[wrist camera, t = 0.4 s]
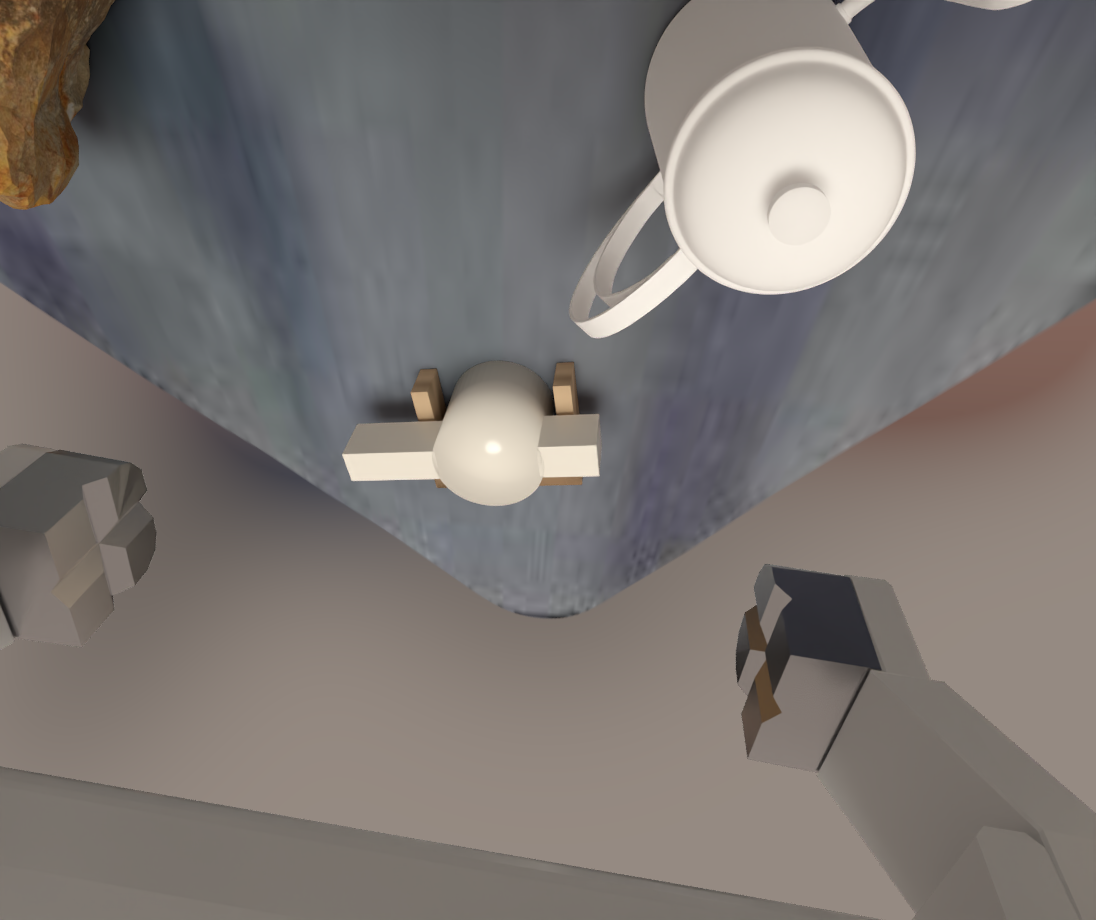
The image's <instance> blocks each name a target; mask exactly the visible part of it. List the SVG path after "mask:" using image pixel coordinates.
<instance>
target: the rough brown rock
mask: <svg viewBox="0 0 1096 920" xmlns="http://www.w3.org/2000/svg"><path fill="white" fill-rule="evenodd" d="M114 1H115V0H0V201H1V202H3V203H5V204H7V205H9V206H10V207H12V208H16V209H24V210H26V209H29V208H33V207H36V206H39V205H43V204H50V203H52V202H53V201H54V200H55V199H56V198H57V197H58V196H59V195H60V194H61V193H62V191H63V190H64V189H65V188H66V186H67V185H68V183H69V181H70V179H71V178H72V176H73V174H74V172H75V171H76V169H77V167H78V166H79V145H78V139H77V136H76V134H75V132H74V130H73V128H72V126H71V123H70V122H71V120H72V119H73V118H74V117H75V115H76V114H77V113H78V112H79V111H80V109H81V108H82V107H83V104H82V100H83V98H84V95H85V93H86V90H87V87H88V83H89V77H90V70H89V53H90V50H89V48H88V47H87V45H86V43H87V41H88V40H89V38H90V37H91V35H92V33H93V32H94V31H95V30H96V29H97V28H98V27H99V25H100V24H101V23H102V22H103V20H104V19H105V17H106V15H107V13H108V10H109V8H110V6H111V5H112V4H113V3H114Z"/></svg>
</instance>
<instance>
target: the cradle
mask: <svg viewBox="0 0 1096 920" xmlns="http://www.w3.org/2000/svg"><path fill="white" fill-rule="evenodd" d="M553 392H554V400H555V407H556V414H557V415H580V414H579V405H578V397H577V388H576V379H575V370H574V362H567V363H557V365H556V370H555V376H554V382H553ZM411 396H412V399H413V403H414V406H415V410H416V414H417V417H418V421H419V422H424V421H443V419H444V416H445V413H446V410H447V409H446V405H445V401H444V397H443V393H442V389H441V385H440V381H439V376H438V372H437V369H421V370H420V372H419V374H418V377H417V379H416V381H415V384H414V386H413V388H412V391H411ZM582 479H583V477H543V478H542V481H541V483H540V485H539V486H543V485H582ZM435 482H436V486H437V488H448V487H446V485H445V484H444V483H443V482H442V481H441V480H440V479H435Z"/></svg>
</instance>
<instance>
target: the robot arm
mask: <svg viewBox="0 0 1096 920" xmlns="http://www.w3.org/2000/svg"><path fill="white" fill-rule="evenodd" d="M146 491H147V487H146V484H145V480H144V476H143V473H142V469H140V468H139V467H137V466H136V465H134V464H132V463H130V462H124V461H119V460H113V459H108V458H103V457H97V456H91V455H86V454H81V453H75V452H70V451H64V450H55V449H51V448H44V447H39V446H33V445H27V444H19V445H12V446H8V447H7V448H5V449H4V450H2V451H1V452H0V650H1V649H3V648H4V647H6V646H8V645H10V644H11V643H13V642H14V641H15V640H14V638H17V639H24V640H31V641H38V642H45V643H53V644H60V645H67V646H75V647H83V645H85V643H86V642H87V641H88V640H89V639H90V638H91V636H92V635H93V634H94V633H95V632H96V630H97V629H98V628H99V627H100V626H101V625H102V623H103V622H104V621H105V620H106V619H107V618H108V617H109V615H110V614H111V613H112V612H113V611H114V601H113V596H114V595H116V594H118V593H120V592H122V591H124V590H126V589H129V588H131V587H133V586H135V585H136V584H137V582H138V581H139V580H140V579H141V577H142V576H143V575H144V574H145V573H146V571H147V570H148V567H149V565H150V562H151V560H152V557H153V555H154V552H155V548H156V528H155V524H154V518H153V517H152V515H150V513H149V512H148V511H147V510H146V509H145V508H144V507H143V506H142V505H141V504H140V502H139V501H140V500H141V498H142V497H143V496H144V494H145V493H146ZM754 591H755V597H756V603H757V605H756V606H754V607H753V608H751V609H750V610H748V611H747V612H745V614H744V617H743V620H742V623H741V627H740V630H739V634H738V641H737V647H736V675H737V683H738V686H739V687H740V688H741V689H742V690H743V691H744V692H745V694H746V695H747V696H748V697H747V700H746V702H745V705H744V708H743V711H742V713H741V715H742V721H743V722H742V723H743V730H744V737H745V744H746V752H747V759H750V760H755V761H760V762H765V763H771V764H775V765H781V766H786V767H791V768H796V769H801V770H806V771H812V772H816V773H818V774H817V777H818V778H819V780H820V781H821V783H822V784H823V785H824V787H825V788H826V790H827V791H828V792H829V794H830V795H831V797H832V798H833V799H834V801H835V802H836V803H837V805H838V806H839V808H840V809H841V811H842V812H843V813H844V815H845V816H846V818H847V819H848V820H849V822H850V823H851V824H852V826H853V827H854V829H855V830H856V831H857V833H858V834H859V836H860V837H861V838H862V840H863V841H864V843H865V844H866V845H867V847H868V848H869V850H870V851H871V852H872V854H873V855H874V857H875V858H876V859H877V861H878V862H879V864H880V865H881V866H882V868H883V869H884V871H885V872H886V873H887V875H888V876H889V878H890V879H891V880H892V882H893V883H894V885H895V886H896V887H897V889H898V890H899V891H900V893H901V894H902V896H903V897H904V898H905V900H906V901H907V903H908V904H909V905H910V907H911V908H912V910H913V911H914V912H915V914H916V915H915V917H914V918H913V919H912V920H1096V813H1095V812H1094V811H1093V810H1092V809H1090V808H1089V807H1088V806H1087V805H1086V804H1084V802H1082V801H1081V800H1080V799H1079V798H1078V797H1076V796H1075V795H1074V794H1073V793H1072V792H1071V791H1070V790H1068V789H1067V788H1066V787H1065V786H1064V785H1063V784H1061V783H1060V782H1059V781H1058V780H1057V779H1056V778H1055V777H1053V776H1052V775H1051V774H1050V773H1049V772H1048V771H1046V770H1045V769H1044V768H1043V767H1042V766H1041V765H1040V764H1038V763H1037V762H1036V761H1035V760H1034V759H1033V758H1031V757H1030V756H1029V755H1028V754H1027V753H1026V752H1024V751H1023V750H1022V749H1021V748H1020V747H1018V745H1016V744H1015V743H1014V742H1013V741H1012V740H1011V739H1009V738H1008V737H1007V736H1006V735H1005V734H1003V733H1002V732H1001V731H1000V730H999V729H998V728H997V727H996V726H994V725H993V724H992V723H991V722H990V721H988V720H987V719H986V718H985V717H984V716H983V715H982V714H980V713H979V712H978V711H977V710H976V709H974V707H972V706H971V705H970V704H969V703H968V702H967V701H965V700H964V699H963V698H962V697H961V696H960V695H959V694H957V693H956V692H955V691H954V690H953V689H951V688H950V687H949V686H948V685H947V684H946V683H945V682H942V681H937V680H931V678H930V676H929V673H928V671H927V669H926V666H925V664H924V661H923V659H922V657H921V654H920V652H919V650H918V647H917V645H916V642H915V640H914V638H913V635H912V633H911V631H910V628H909V626H908V623H907V621H906V618H905V616H904V614H903V611H902V609H901V606H900V604H899V602H898V600H897V597H896V595H895V592H894V590H893V588H892V586H891V585H890V584H889V583H888V582H887V581H885V580H880V579H873V578H865V577H858V576H850V575H844V576H841V575H835V574H829V573H822V572H816V571H809V570H803V569H796V568H789V567H783V566H777V565H770V564H765V565H764V566H763V568H762V569H761V571H760V572H759V575H758V577H757V580H756V583H755V586H754ZM0 920H881V919H876V918H870V917H865V916H859V915H853V914H847V913H842V912H835V911H830V910H824V909H819V908H812V907H807V906H801V905H796V904H789V903H784V902H778V901H772V900H767V899H761V898H755V897H750V896H744V895H738V894H732V893H726V892H720V891H715V890H709V889H703V888H698V887H692V886H686V885H681V884H675V883H669V882H663V881H658V880H652V879H646V878H640V877H634V876H629V875H623V874H617V873H611V872H605V871H600V870H594V869H588V868H582V867H576V866H570V865H565V864H559V863H553V862H547V861H542V860H536V859H530V858H524V857H518V856H513V855H507V854H501V853H495V852H489V851H484V850H478V849H472V848H466V847H460V846H454V845H448V844H443V843H437V842H431V841H425V840H420V839H414V838H407V837H402V836H397V835H391V834H385V833H379V832H374V831H368V830H362V829H356V828H351V827H345V826H339V825H333V824H327V823H322V822H316V821H311V820H305V819H299V818H293V817H288V816H282V815H276V814H270V813H265V812H259V811H253V810H248V809H241V808H236V807H230V806H224V805H219V804H213V803H207V802H202V801H196V800H190V799H185V798H179V797H173V796H167V795H162V794H155V793H150V792H144V791H139V790H133V789H127V788H121V787H116V786H110V785H104V784H99V783H93V782H87V781H81V780H75V779H70V778H64V777H58V776H52V775H47V774H41V773H34V772H29V771H24V770H18V769H12V768H6V767H1V766H0Z"/></svg>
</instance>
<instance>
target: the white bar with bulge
mask: <svg viewBox="0 0 1096 920" xmlns="http://www.w3.org/2000/svg"><path fill="white" fill-rule="evenodd" d="M553 414H554V401H553V397H552V394H551V391H550V390H549V388H548V386H547V385H546V383H545V382H544V381H543V380H542V379H541V378H540V377H539V376H538V375H537V374H536V373H535V372H533V371H532V370H530V369H528V368H526V367H524V366H522V365H519V364H517V363H513V362H508V361H488V362H484V363H480V364H478V365H475V366H473V367H472V368H470V369H469V370H467V371H466V372H465V373H464V374H463V375H462V376H461V377H460V378H459V380H458V381H457V383H456V385H455V388H454V391H453V394H452V396H451V399H450V402H449V405H448V408H447V410H446V413H445V416H444V419H443V421H424V422H397V423H369V424H357V426H356V428H355V430H354V432H353V434H352V436H351V438H350V440H349V442H348V444H347V446H346V448H345V450H344V452H343V454H342V455H343V458H344V461H345V463H346V466H347V469H348V472H349V474H350V477H351V480H352V481H370V480H412V479H440V480H441V481H442V482H443V483H444V484H445V485H446V487H448V488H449V489H450V490H451V491H452V492H454V493H455V494H457V495H458V496H460V497H462V498H464V499H466V500H468V501H471V502H474V503H478V504H482V505H489V506H501V505H508V504H513V503H516V502H519V501H521V500H523V499H525V498H527V497H528V496H529V495H531V494H532V493H533V492H534V491H535V490H536V489H537V488H538V486H539V485H540V483H541V481H542V478H543V477H583V476H599V474H600V461H601V447H602V441H601V430H600V419H599V414H583V415H556V416H553Z"/></svg>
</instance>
